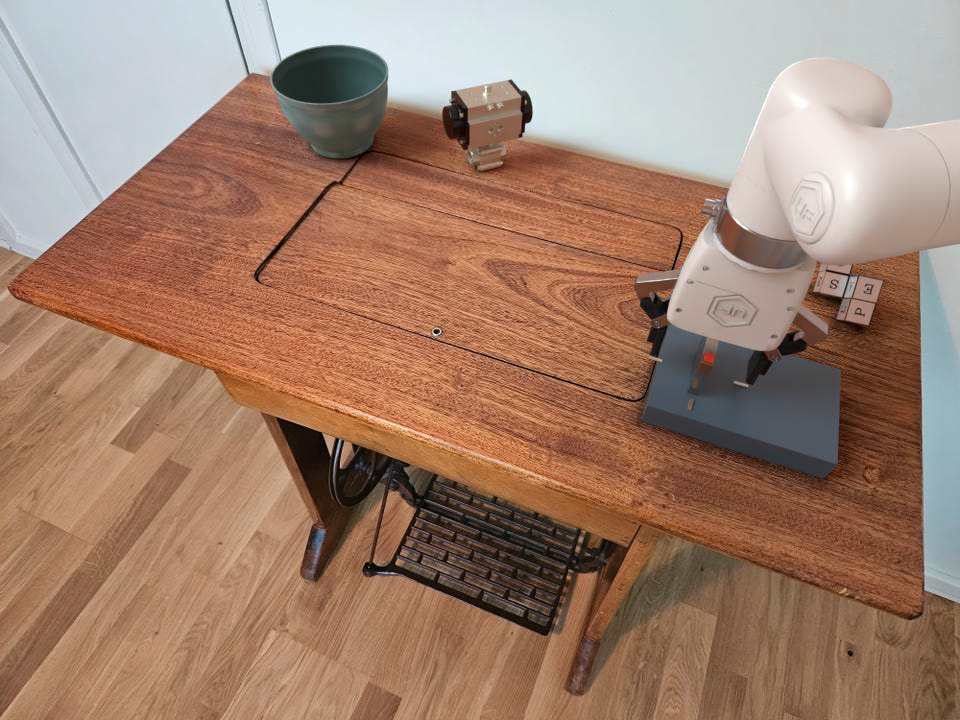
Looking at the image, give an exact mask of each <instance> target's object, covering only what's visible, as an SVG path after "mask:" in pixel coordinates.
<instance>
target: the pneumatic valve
mask: <svg viewBox="0 0 960 720" xmlns="http://www.w3.org/2000/svg"><path fill="white" fill-rule="evenodd" d="M448 101H449V103H450V104H449V105H444V106H443V107H442V112H441V113H442V114H441V116H442V124H443V128H444V132H445V134H446V136H447V138H448V139H449V140H451V141H452V140H453V141H454V140H456V141H457V142H458V144H459V145H460V147H461V148H462V150H463V151H467V152H466V155H467V161H468V163H469V165H471V166H472V167H473V166H476V169H477V171H479V172H484V171H488V170H489V171H490V170H493V169H497V168H500V167H502V166H503V164H504V161H503V160H504V159H506V157H507V148H506V145H505V143H504V142H508V141H512V140H516V139H521V138H523V136H524V135H523V134H525V132H526V125H527V124H530V123H531V122H532V120H533V116H534V109H533V102H532V98H531V96H530V94H529V92H528V91H527V90H525V89H523V90H521V89H520V87H519V86H518V85H517V84H516V83H515V82H514V80H512V79H507V80H502V81H497V82H491V83H486V84H481V85H476V86H470V87H467V88H462V89H456V90H451V91H450V98H449V100H448Z"/></svg>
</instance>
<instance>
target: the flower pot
mask: <svg viewBox="0 0 960 720" xmlns="http://www.w3.org/2000/svg"><path fill="white" fill-rule="evenodd" d="M388 80H389V66H388V64H387V62H386V61H385V59H384V58H383V57H382V56H381V55H379V54H378V53H376V52H375V51H372V50H371V49H367V48H364V47H361V46H357V45H356V46H355V45H349V44H326V45H325V44H324V45H323V44H322V45H317V46H312V47H308V48H305V49H301V50H298V51H296V52H294V53H291V54H289V55H288V56H286V57H284V58H283V59H281V60H280V61H279V62H278V63H277V64H275V66H274V67H273V69H272V70H271V73H270V77H269V82H270V85H271V87H272V90H273V93H274V94H275V96H276V99H277V102H278V105H279V107H280V108H281V111H282V113H283V115H284V117H285V118H286V119H287V121H288V123H289V124H290V125H291V127H292V128H293V129H294V130H295V132H296V133H297V134H298V135H299V136H300V137H301V138H303V139H304V140H305V141H306V142H308V143H309V145H310V146H311V148H312V149H313V151H314V152H315V153H317V154H318V155H320V156H322V157H324V158H325V157H326V158H329V159H348V158H349V159H350V158H353V157H357V156H359V155H361V154H363V153H364V152H366V151H367V150H369V149H370V147H372V145H373V144H374V141H375V134H376V133H377V132H378V130H379V128H380V127H381V124H382V122H383V120H384V116H385V113H386V110H387V104H388V95H389V90H388V89H389V85H388Z"/></svg>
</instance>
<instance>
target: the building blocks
mask: <svg viewBox="0 0 960 720" xmlns="http://www.w3.org/2000/svg"><path fill="white" fill-rule="evenodd" d="M853 267H854V264H852V265H828V264H824V263H821V262H820V265H819V268H818V273H817V275H816V279H815V282H814V285H813V289H812V291H811V293H812V294H814V295H815V294H817V295H820V296H824V297H830V298H834V299H840V300H841V304H840V307H839V310H838V313H837V317H836V321H840V322H844V323H848V324H854V325H858V326H865V327H866V326H867V327H870V326H871V323H872V320H873V317H874V314H875V311H876V307H877V304H878V302H879V298H880V295H881V292H882V289H883V286H884V282H885V279H883V278H880V277H879V278H878V277H874V276H868V275H864V274H852V271H853Z"/></svg>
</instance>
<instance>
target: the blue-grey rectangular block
mask: <svg viewBox="0 0 960 720" xmlns="http://www.w3.org/2000/svg"><path fill="white" fill-rule="evenodd" d="M701 338H702V335H699V334H695V333H692V332H689V331H686V330H683V329H680V328H678V327H676V326H674V325H673V324H669V325H668V328H667V331H666V334H665V337H664V340H663V342H662V345H661V347H660V350H659V352H658V355H657V357H656V356H652V355H649V356H648V360H650V361H654V362H656V364H655V366H654V370H653V374H652V378H651V382H650V386H649V389H648V393H647V397H646V401H645V404H644V407H643V412H642V416H641V419H640V421H641V422H642V423H646V424H648V425H652V426H655V427H659V428H661V429H664V430H668V431H671V432H674V433H678V434H680V435H684V436H687V437H690V438H692V439H695V440H699V441H702V442H705V443H709V444H712V445H716V446H718V447H721V448H724V449H728V450H731V451H734V452H737V453H741V454H743V455H747V456H750V457H753V458H756V459H760V460H762V461H766V462H768V463H772V464H775V465H778V466H782V467H785V468H788V469H791V470H794V471H797V472H800V473H803V474H807V475H808V476H809V475H810V476H813V477H815V478H816V477H817V478H819V479H822V480H824V479H825V478H826V477H827V476H828V475H829V474H830V473H831V472H832V471H833V470H834V469H835V468H836V467H837V466H838V463H839V440H840V439H839V437H840V436H839V435H840V410H841V409H840V408H841V382H842V381H841V377H842V376H841V375H842V369H840V368H837V367H834V366H830V365H827V364H824V363H820V362H816V361H812V360H809V359H805V358H802V357H798V356H794V355H792V354H790V355H786V356H782V359H781V360H780V361H778V362H773V363H772V365H771V366H770V368H769V370H768V371H767V373H766V374H765V375H759V376H758V378H757V379H756V381H755V383H754V384H753V385H750V384H747V382H746V374H747V368H748V362H749V359H750V358H751V356H752V354H753V352H754V351H755V350H753V349H749V348H745V347H741V346H738V345H734V344H730V343H727V342H723V341H720V340H719V343H718V348H717V353H716V358H715V363H714V367H713V369H712V371H711V373H710V375H709V376H708V378H707V380H706V382H705V384H704V386H703V388H702V390H701V392H700V394H699V395H695V394H692V393H688V392H687V389H688V385H689V380H690V376H691V371H692V367H693V362H694V358H695V354H696V349H697V347H698V345H699V343H700V341H701Z"/></svg>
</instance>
